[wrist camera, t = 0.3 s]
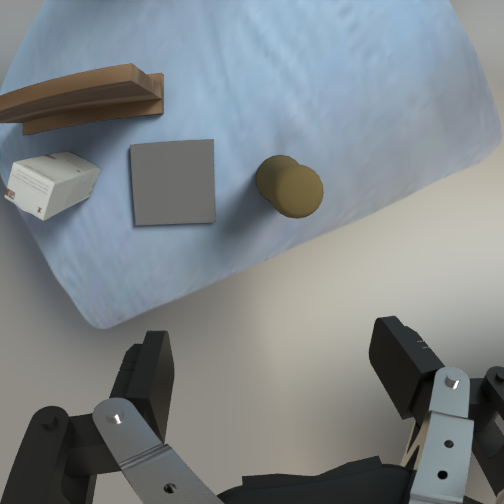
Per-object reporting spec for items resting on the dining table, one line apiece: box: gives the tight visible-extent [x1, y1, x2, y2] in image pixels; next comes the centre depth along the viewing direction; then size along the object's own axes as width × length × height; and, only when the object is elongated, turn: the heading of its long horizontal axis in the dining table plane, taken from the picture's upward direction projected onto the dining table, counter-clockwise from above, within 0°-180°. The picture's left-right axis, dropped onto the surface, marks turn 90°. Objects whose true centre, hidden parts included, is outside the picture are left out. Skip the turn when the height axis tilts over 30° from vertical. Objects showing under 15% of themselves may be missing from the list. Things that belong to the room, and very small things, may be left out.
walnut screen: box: [0, 63, 164, 135], centre depth 27 cm, size 5×20×14 cm, turn 90°
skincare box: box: [5, 151, 101, 221], centre depth 31 cm, size 6×4×12 cm
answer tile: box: [130, 139, 216, 225], centre depth 38 cm, size 10×10×1 cm
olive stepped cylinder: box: [256, 155, 324, 218], centre depth 34 cm, size 6×6×11 cm
